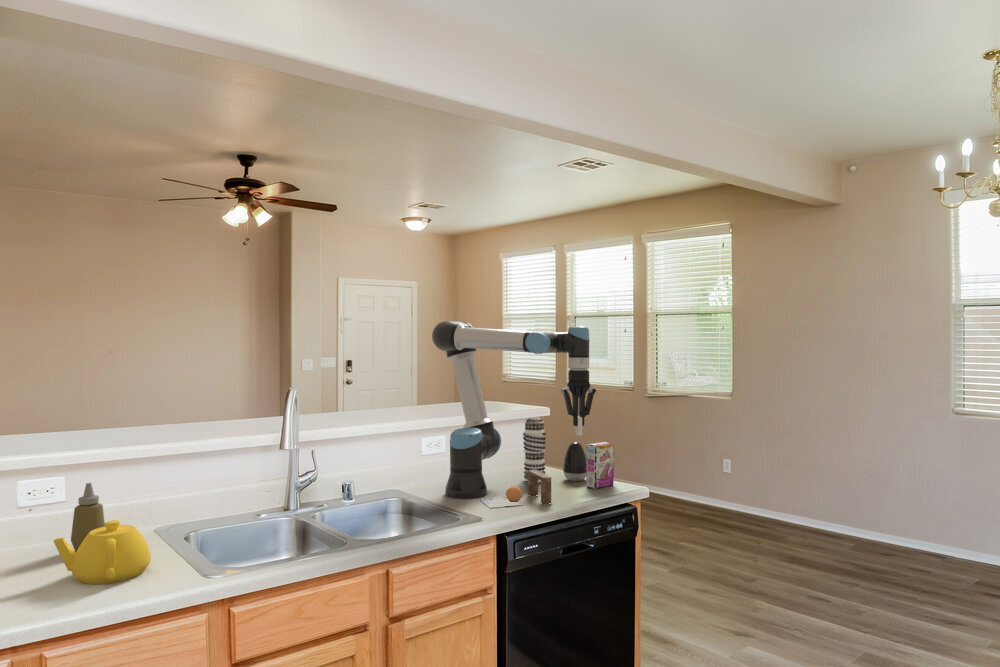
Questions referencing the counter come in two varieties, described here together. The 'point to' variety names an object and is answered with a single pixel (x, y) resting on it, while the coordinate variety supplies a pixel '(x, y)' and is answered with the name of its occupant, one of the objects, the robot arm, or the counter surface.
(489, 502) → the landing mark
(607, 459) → the candy bar box
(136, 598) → the counter surface
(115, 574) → the teapot
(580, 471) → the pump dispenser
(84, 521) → the squeeze bottle
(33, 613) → the counter surface
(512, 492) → the ball
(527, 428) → the decorative candle
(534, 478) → the bridge
